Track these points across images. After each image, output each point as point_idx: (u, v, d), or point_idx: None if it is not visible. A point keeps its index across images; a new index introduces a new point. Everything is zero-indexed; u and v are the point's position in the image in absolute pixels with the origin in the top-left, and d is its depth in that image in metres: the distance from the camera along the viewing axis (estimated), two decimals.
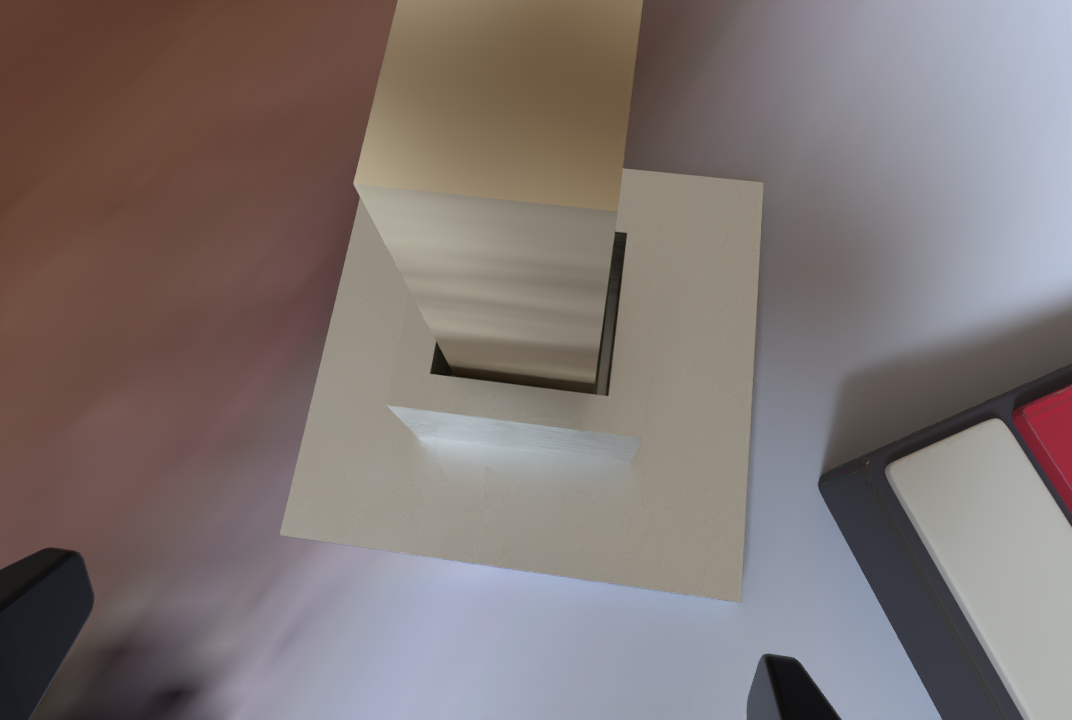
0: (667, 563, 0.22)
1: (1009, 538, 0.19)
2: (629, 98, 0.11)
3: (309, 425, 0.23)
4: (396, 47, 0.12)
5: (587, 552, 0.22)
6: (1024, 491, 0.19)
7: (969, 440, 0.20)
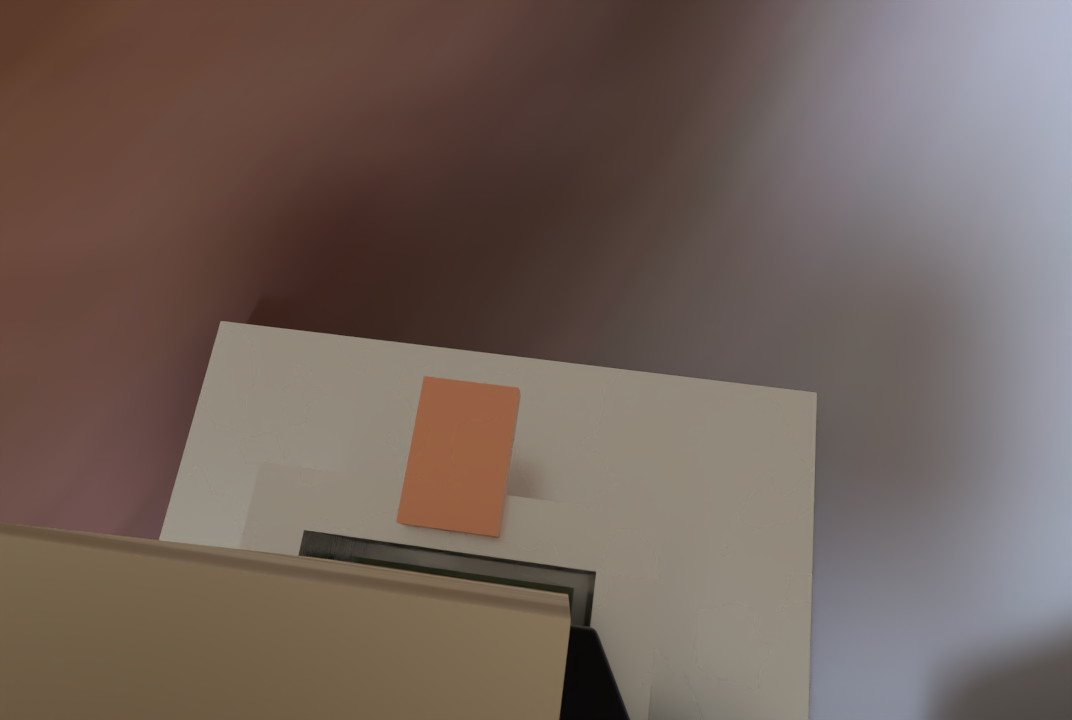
0: None
1: None
2: None
3: None
4: None
5: None
6: None
7: None
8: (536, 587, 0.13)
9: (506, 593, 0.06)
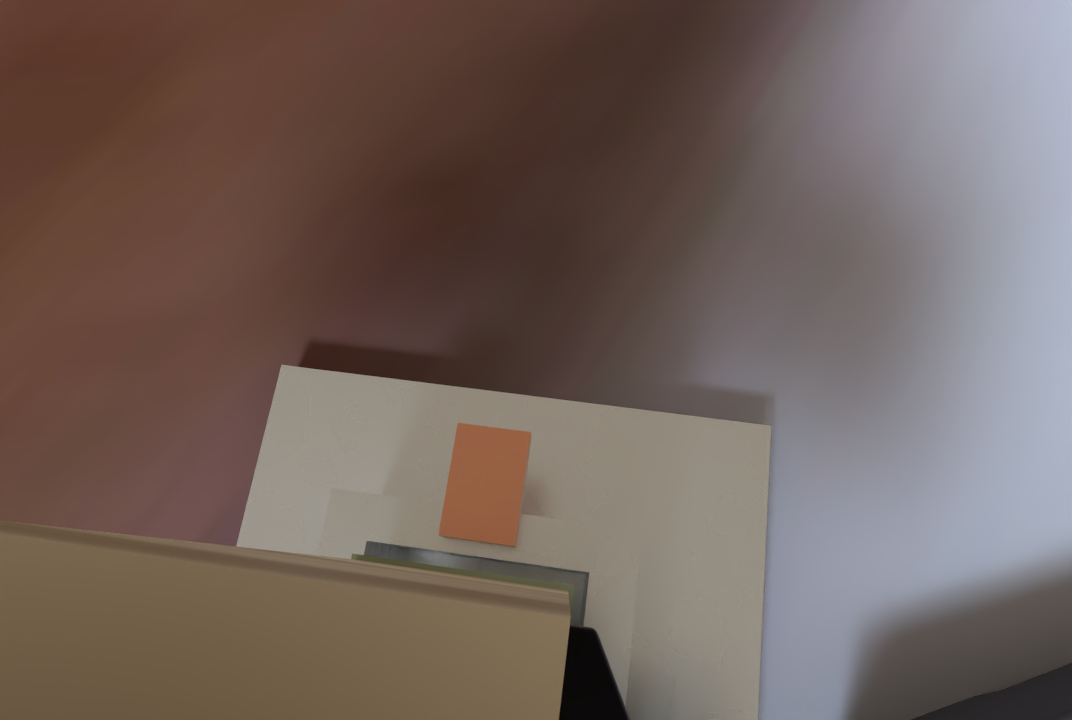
0: None
1: None
2: None
3: None
4: None
5: None
6: None
7: None
8: (536, 584, 0.13)
9: (506, 591, 0.06)
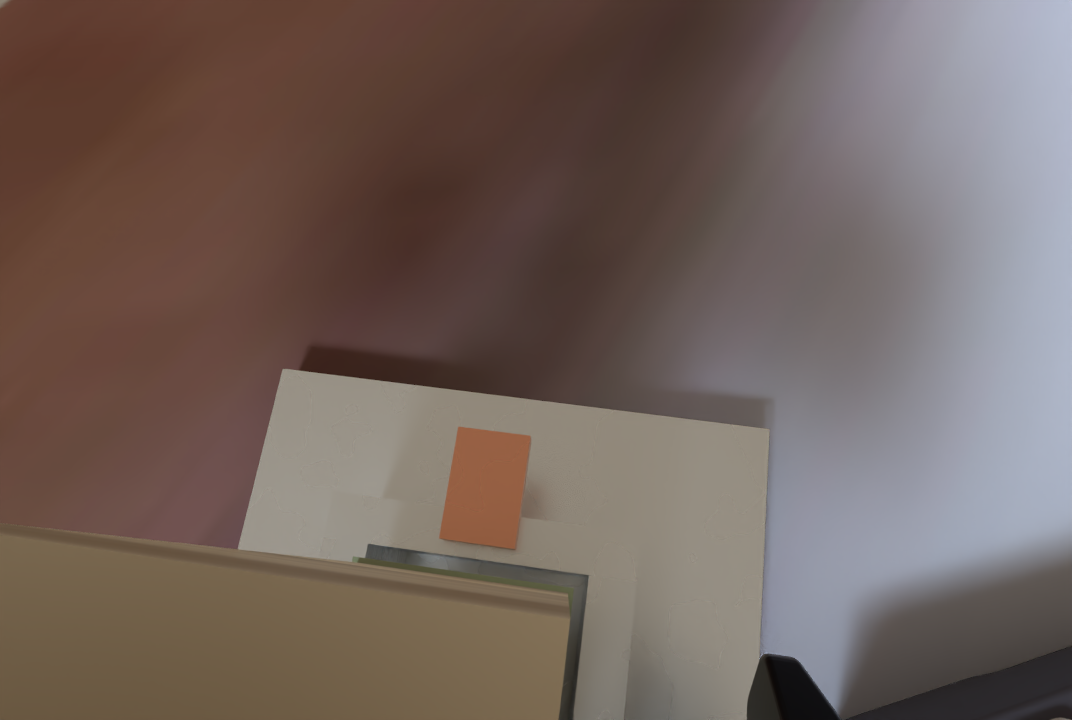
0: None
1: None
2: None
3: None
4: None
5: None
6: None
7: None
8: (536, 587, 0.13)
9: (507, 593, 0.06)
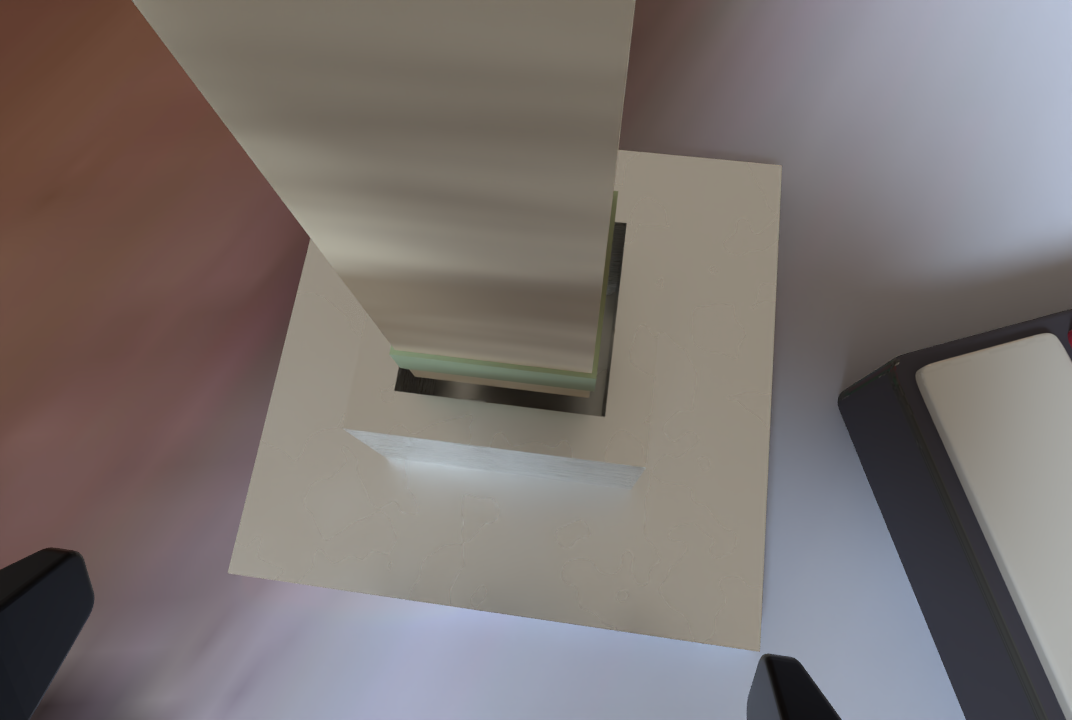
0: (674, 606, 0.19)
1: (1047, 462, 0.17)
2: None
3: (263, 445, 0.20)
4: None
5: (581, 593, 0.19)
6: (1071, 413, 0.17)
7: (1016, 353, 0.18)
8: None
9: None
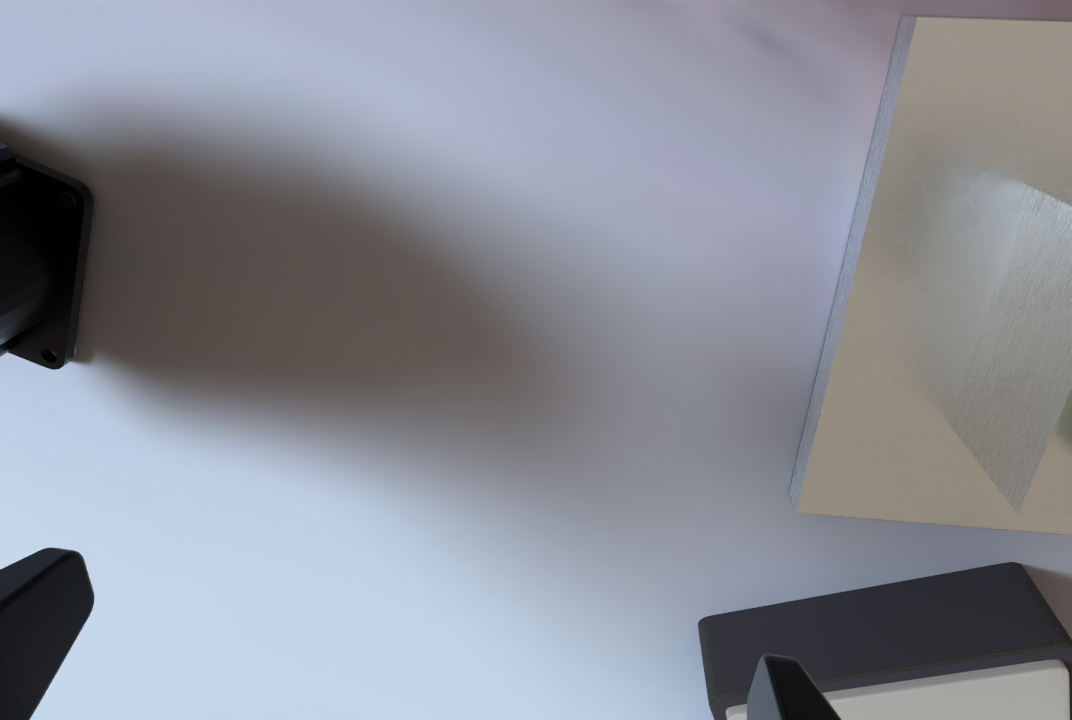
0: (837, 456, 0.22)
1: None
2: None
3: None
4: None
5: (855, 386, 0.20)
6: None
7: None
8: None
9: None
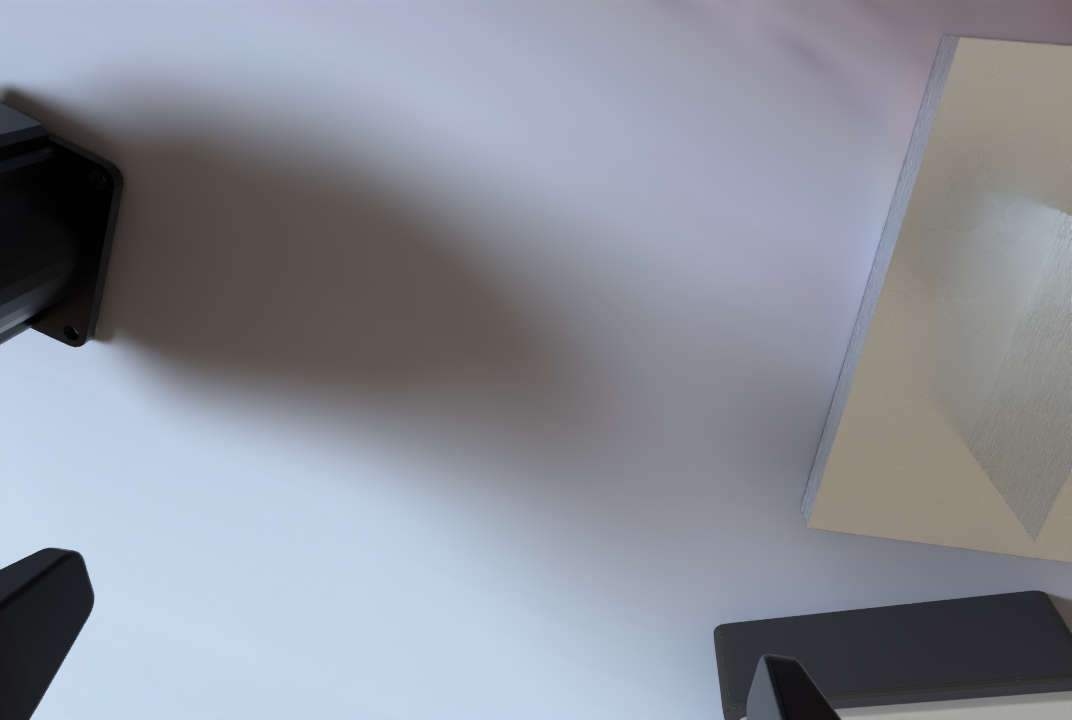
0: (852, 473, 0.21)
1: None
2: None
3: None
4: None
5: (874, 405, 0.20)
6: None
7: None
8: None
9: None
